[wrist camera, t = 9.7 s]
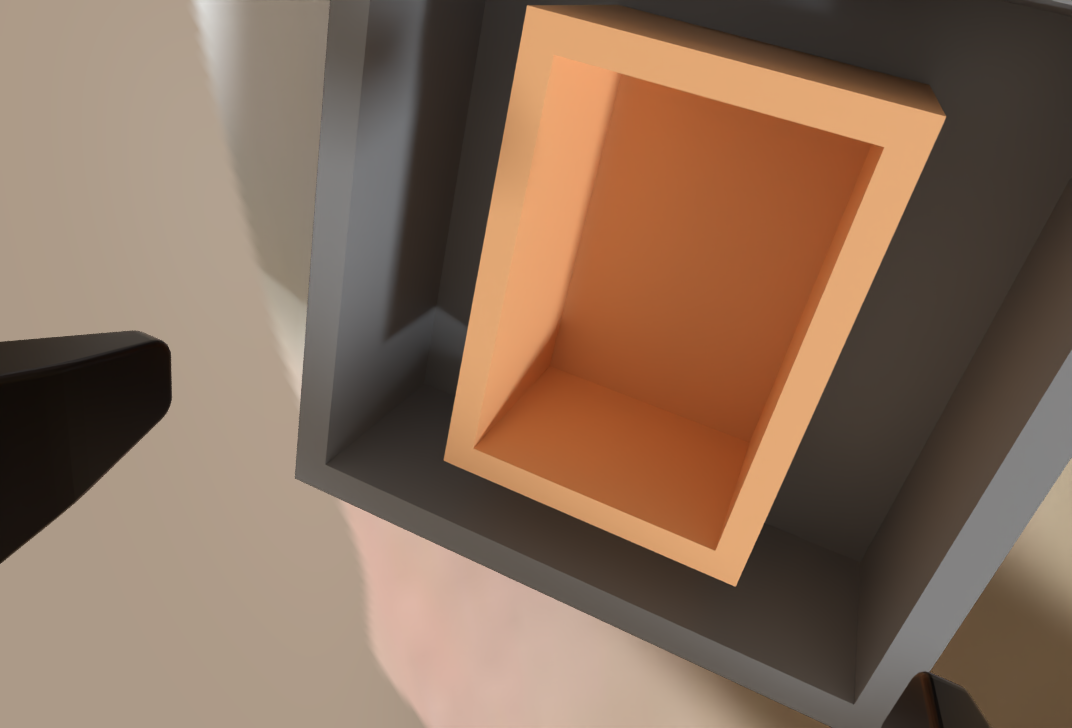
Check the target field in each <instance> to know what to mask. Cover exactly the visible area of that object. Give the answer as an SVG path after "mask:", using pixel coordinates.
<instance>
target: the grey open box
mask: <svg viewBox="0 0 1072 728" xmlns="http://www.w3.org/2000/svg"><path fill="white" fill-rule="evenodd" d="M527 5H621V6H625V7H629V8H632V9H636V10H640V11H644V12H648V13H652V14H656V15H660V16H664V17H667V18H671V19H675V20H679V21H683V22H687V23H691V24H695V25H698V26H702V27H706V28H710V29H714V30H718V31H722V32H726V33H729V34H733V35H737V36H741V37H745V38H749V39H753V40H757V41H761V42H764V43H768V44H772V45H776V46H780V47H784V48H788V49H792V50H795V51H799V52H803V53H807V54H811V55H815V56H819V57H823V58H827V59H830V60H834V61H838V62H842V63H846V64H850V65H854V66H858V67H861V68H865V69H869V70H873V71H877V72H881V73H885V74H889V75H892V76H896V77H900V78H904V79H908V80H912V81H916V82H920V83H924V84H927V85H930V87H931V89H932V90H933V92H934V94H935V96H936V98H937V100H938V102H939V104H940V106H941V107H942V109H943V111H944V113H945V115H946V119H945V121H944V123H943V125H942V128H941V130H940V132H939V134H938V137H937V139H936V141H935V143H934V145H933V148H932V150H931V152H930V154H929V157H928V159H927V161H926V163H925V166H924V168H923V170H922V172H921V174H920V177H919V179H918V181H917V183H916V186H915V188H914V190H913V192H912V195H911V197H910V199H909V201H908V203H907V206H906V208H905V210H904V212H903V215H902V217H901V219H900V221H899V224H898V226H897V228H896V230H895V232H894V235H893V237H892V239H891V241H890V244H889V246H888V248H887V250H886V253H885V255H884V257H883V259H882V261H881V264H880V266H879V268H878V270H877V273H876V275H875V277H874V279H873V282H872V284H871V286H870V288H869V290H868V293H867V295H866V297H865V299H864V302H863V304H862V306H861V308H860V311H859V313H858V315H857V317H856V319H855V322H854V324H853V326H852V328H851V331H850V333H849V335H848V337H847V339H846V342H845V344H844V346H843V348H842V351H841V353H840V355H839V357H838V360H837V362H836V364H835V366H834V368H833V371H832V373H831V375H830V377H829V380H828V382H827V384H826V386H825V389H824V391H823V393H822V395H821V397H820V400H819V402H818V404H817V406H816V409H815V411H814V413H813V415H812V418H811V420H810V422H809V424H808V426H807V429H806V431H805V433H804V435H803V438H802V440H801V442H800V444H799V447H798V449H797V451H796V453H795V455H794V458H793V460H792V462H791V464H790V467H789V469H788V471H787V473H786V476H785V478H784V480H783V482H782V484H781V487H780V489H779V491H778V493H777V496H776V498H775V500H774V502H773V505H772V507H771V509H770V511H769V513H768V516H767V518H766V520H765V522H764V525H763V527H762V529H761V531H760V534H759V536H758V538H757V540H756V542H755V545H754V547H753V549H752V551H751V554H750V556H749V558H748V560H747V562H746V565H745V567H744V569H743V571H742V574H741V576H740V578H739V580H738V583H737V585H736V587H735V586H733V585H730V584H728V583H726V582H723V581H721V580H719V579H716V578H714V577H712V576H709V575H707V574H705V573H702V572H700V571H698V570H696V569H693V568H691V567H689V566H686V565H684V564H682V563H679V562H677V561H675V560H672V559H670V558H668V557H665V556H663V555H661V554H658V553H656V552H654V551H652V550H649V549H647V548H645V547H642V546H640V545H638V544H635V543H633V542H631V541H628V540H626V539H624V538H621V537H619V536H617V535H615V534H612V533H610V532H608V531H605V530H603V529H601V528H598V527H596V526H594V525H591V524H589V523H587V522H584V521H582V520H580V519H577V518H575V517H573V516H571V515H568V514H566V513H564V512H561V511H559V510H557V509H554V508H552V507H550V506H547V505H545V504H543V503H540V502H538V501H536V500H533V499H531V498H529V497H527V496H524V495H522V494H520V493H517V492H515V491H513V490H510V489H508V488H506V487H503V486H501V485H499V484H496V483H494V482H492V481H489V480H487V479H485V478H483V477H480V476H478V475H476V474H473V473H471V472H469V471H466V470H464V469H462V468H459V467H457V466H455V465H452V464H450V463H448V462H446V461H444V455H445V450H446V445H447V439H448V434H449V428H450V423H451V417H452V412H453V406H454V401H455V396H456V390H457V385H458V379H459V374H460V368H461V363H462V357H463V352H464V347H465V341H466V336H467V330H468V325H469V319H470V314H471V308H472V303H473V297H474V292H475V287H476V281H477V276H478V270H479V265H480V259H481V254H482V248H483V243H484V238H485V232H486V227H487V221H488V216H489V210H490V205H491V199H492V194H493V189H494V183H495V178H496V172H497V167H498V161H499V156H500V150H501V145H502V139H503V134H504V129H505V123H506V118H507V112H508V107H509V101H510V96H511V90H512V85H513V80H514V74H515V69H516V63H517V58H518V52H519V47H520V41H521V36H522V31H523V25H524V20H525V14H526V9H527ZM1071 458H1072V0H330V9H329V23H328V36H327V50H326V63H325V77H324V90H323V104H322V117H321V131H320V145H319V158H318V172H317V185H316V199H315V212H314V226H313V239H312V253H311V267H310V280H309V294H308V307H307V321H306V334H305V348H304V361H303V375H302V388H301V402H300V416H299V429H298V443H297V456H296V470H295V479H298V480H300V481H302V482H304V483H306V484H309V485H310V486H313V487H315V488H317V489H319V490H322V491H324V492H326V493H328V494H330V495H332V496H334V497H336V498H339V499H341V500H343V501H345V502H347V503H349V504H351V505H354V506H356V507H358V508H360V509H362V510H364V511H367V512H369V513H371V514H373V515H375V516H377V517H379V518H382V519H384V520H386V521H388V522H390V523H392V524H395V525H397V526H399V527H401V528H403V529H405V530H407V531H410V532H412V533H414V534H416V535H418V536H420V537H423V538H425V539H427V540H429V541H431V542H433V543H435V544H438V545H440V546H442V547H444V548H446V549H448V550H451V551H453V552H455V553H457V554H459V555H461V556H464V557H466V558H468V559H470V560H472V561H474V562H476V563H479V564H481V565H483V566H485V567H487V568H489V569H492V570H494V571H496V572H498V573H500V574H502V575H504V576H507V577H509V578H511V579H513V580H515V581H517V582H520V583H522V584H524V585H526V586H528V587H530V588H532V589H535V590H537V591H539V592H541V593H543V594H545V595H548V596H550V597H552V598H554V599H556V600H558V601H560V602H563V603H565V604H567V605H569V606H571V607H573V608H576V609H578V610H580V611H582V612H584V613H586V614H588V615H591V616H593V617H595V618H597V619H599V620H601V621H604V622H606V623H608V624H610V625H612V626H614V627H617V628H619V629H621V630H623V631H625V632H627V633H629V634H632V635H634V636H636V637H638V638H640V639H642V640H645V641H647V642H649V643H651V644H653V645H655V646H657V647H660V648H662V649H664V650H666V651H668V652H670V653H673V654H675V655H677V656H679V657H681V658H683V659H685V660H688V661H690V662H692V663H694V664H696V665H698V666H701V667H703V668H705V669H707V670H709V671H711V672H713V673H716V674H718V675H720V676H722V677H724V678H726V679H729V680H731V681H733V682H735V683H737V684H739V685H742V686H744V687H746V688H748V689H750V690H752V691H754V692H757V693H759V694H761V695H763V696H765V697H767V698H770V699H772V700H774V701H776V702H778V703H780V704H782V705H785V706H787V707H789V708H791V709H793V710H795V711H798V712H800V713H802V714H804V715H806V716H808V717H810V718H813V719H815V720H817V721H819V722H821V723H823V724H826V725H828V726H830V727H832V728H881V726H882V724H883V722H884V721H885V719H886V717H887V716H888V714H889V713H890V711H891V710H892V708H893V707H894V705H895V704H896V702H897V701H898V699H899V697H900V696H901V694H902V693H903V691H904V690H905V688H906V687H907V685H908V684H909V682H910V681H911V679H912V678H913V677H914V676H915V675H916V674H917V673H919V672H924V671H927V672H930V670H931V669H932V667H933V666H934V664H935V663H936V661H937V660H938V658H939V657H940V655H941V654H942V652H943V651H944V649H945V648H946V646H947V645H948V643H949V642H950V640H951V639H952V637H953V636H954V634H955V633H956V631H957V630H958V628H959V627H960V625H961V624H962V622H963V621H964V619H965V618H966V616H967V615H968V613H969V612H970V610H971V609H972V607H973V606H974V604H975V602H976V601H977V599H978V598H979V596H980V595H981V593H982V592H983V590H984V589H985V587H986V586H987V584H988V583H989V581H990V580H991V578H992V577H993V575H994V574H995V572H996V571H997V569H998V568H999V566H1000V565H1001V563H1002V562H1003V560H1004V559H1005V557H1006V556H1007V554H1008V553H1009V551H1010V550H1011V548H1012V547H1013V545H1014V544H1015V542H1016V541H1017V539H1018V538H1019V536H1020V535H1021V533H1022V532H1023V530H1024V529H1025V527H1026V526H1027V524H1028V523H1029V521H1030V519H1031V518H1032V516H1033V515H1034V513H1035V512H1036V510H1037V509H1038V507H1039V506H1040V504H1041V503H1042V501H1043V500H1044V498H1045V497H1046V495H1047V494H1048V492H1049V491H1050V489H1051V488H1052V486H1053V485H1054V483H1055V482H1056V480H1057V479H1058V477H1059V476H1060V474H1061V473H1062V471H1063V470H1064V468H1065V467H1066V465H1067V464H1068V462H1069V461H1070V459H1071Z"/></svg>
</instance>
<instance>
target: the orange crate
mask: <svg viewBox="0 0 1072 728" xmlns="http://www.w3.org/2000/svg"><path fill="white" fill-rule="evenodd" d="M945 119H946V115H945V113H944V111H943V109H942V107H941V106H940V104H939V102H938V100H937V98H936V96H935V94H934V92H933V90H932V89H931V87H930V85H927V84H924V83H920V82H916V81H912V80H908V79H904V78H900V77H896V76H892V75H889V74H885V73H881V72H877V71H873V70H869V69H865V68H861V67H858V66H854V65H850V64H846V63H842V62H838V61H834V60H830V59H827V58H823V57H819V56H815V55H811V54H807V53H803V52H799V51H795V50H792V49H788V48H784V47H780V46H776V45H772V44H768V43H764V42H761V41H757V40H753V39H749V38H745V37H741V36H737V35H733V34H729V33H726V32H722V31H718V30H714V29H710V28H706V27H702V26H698V25H695V24H691V23H687V22H683V21H679V20H675V19H671V18H667V17H664V16H660V15H656V14H652V13H648V12H644V11H640V10H636V9H632V8H629V7H625V6H621V5H527V9H526V14H525V20H524V25H523V31H522V36H521V41H520V47H519V52H518V58H517V63H516V69H515V74H514V80H513V85H512V90H511V96H510V101H509V107H508V112H507V118H506V123H505V129H504V134H503V139H502V145H501V150H500V156H499V161H498V167H497V172H496V178H495V183H494V189H493V194H492V199H491V205H490V210H489V216H488V221H487V227H486V232H485V238H484V243H483V248H482V254H481V259H480V265H479V270H478V276H477V281H476V287H475V292H474V297H473V303H472V308H471V314H470V319H469V325H468V330H467V336H466V341H465V347H464V352H463V357H462V363H461V368H460V374H459V379H458V385H457V390H456V396H455V401H454V406H453V412H452V417H451V423H450V428H449V434H448V439H447V445H446V450H445V455H444V461H446V462H448V463H450V464H452V465H455V466H457V467H459V468H462V469H464V470H466V471H469V472H471V473H473V474H476V475H478V476H480V477H483V478H485V479H487V480H489V481H492V482H494V483H496V484H499V485H501V486H503V487H506V488H508V489H510V490H513V491H515V492H517V493H520V494H522V495H524V496H527V497H529V498H531V499H533V500H536V501H538V502H540V503H543V504H545V505H547V506H550V507H552V508H554V509H557V510H559V511H561V512H564V513H566V514H568V515H571V516H573V517H575V518H577V519H580V520H582V521H584V522H587V523H589V524H591V525H594V526H596V527H598V528H601V529H603V530H605V531H608V532H610V533H612V534H615V535H617V536H619V537H621V538H624V539H626V540H628V541H631V542H633V543H635V544H638V545H640V546H642V547H645V548H647V549H649V550H652V551H654V552H656V553H658V554H661V555H663V556H665V557H668V558H670V559H672V560H675V561H677V562H679V563H682V564H684V565H686V566H689V567H691V568H693V569H696V570H698V571H700V572H702V573H705V574H707V575H709V576H712V577H714V578H716V579H719V580H721V581H723V582H726V583H728V584H730V585H733V586H735V587H736V585H737V583H738V580H739V578H740V576H741V574H742V571H743V569H744V567H745V565H746V562H747V560H748V558H749V556H750V554H751V551H752V549H753V547H754V545H755V542H756V540H757V538H758V536H759V534H760V531H761V529H762V527H763V525H764V522H765V520H766V518H767V516H768V513H769V511H770V509H771V507H772V505H773V502H774V500H775V498H776V496H777V493H778V491H779V489H780V487H781V484H782V482H783V480H784V478H785V476H786V473H787V471H788V469H789V467H790V464H791V462H792V460H793V458H794V455H795V453H796V451H797V449H798V447H799V444H800V442H801V440H802V438H803V435H804V433H805V431H806V429H807V426H808V424H809V422H810V420H811V418H812V415H813V413H814V411H815V409H816V406H817V404H818V402H819V400H820V397H821V395H822V393H823V391H824V389H825V386H826V384H827V382H828V380H829V377H830V375H831V373H832V371H833V368H834V366H835V364H836V362H837V360H838V357H839V355H840V353H841V351H842V348H843V346H844V344H845V342H846V339H847V337H848V335H849V333H850V331H851V328H852V326H853V324H854V322H855V319H856V317H857V315H858V313H859V311H860V308H861V306H862V304H863V302H864V299H865V297H866V295H867V293H868V290H869V288H870V286H871V284H872V282H873V279H874V277H875V275H876V273H877V270H878V268H879V266H880V264H881V261H882V259H883V257H884V255H885V253H886V250H887V248H888V246H889V244H890V241H891V239H892V237H893V235H894V232H895V230H896V228H897V226H898V224H899V221H900V219H901V217H902V215H903V212H904V210H905V208H906V206H907V203H908V201H909V199H910V197H911V195H912V192H913V190H914V188H915V186H916V183H917V181H918V179H919V177H920V174H921V172H922V170H923V168H924V166H925V163H926V161H927V159H928V157H929V154H930V152H931V150H932V148H933V145H934V143H935V141H936V139H937V137H938V134H939V132H940V130H941V128H942V125H943V123H944V121H945Z"/></svg>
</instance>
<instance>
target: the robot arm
mask: <svg viewBox="0 0 1072 728" xmlns="http://www.w3.org/2000/svg"><path fill="white" fill-rule="evenodd" d="M171 385H172V381H171V352H170V350H169V347H168V345H167V344H166V343H165V342H163V341H162V340H160V339H157V338H155V337H153V336H150V335H148V334H146V333H143V332H140V331H123V332H112V333H111V332H110V333H99V334H87V335H75V336H64V337H52V338H40V339H29V340H17V341H5V342H0V564H1V563H2V562H3V561H4V560H6V559H7V558H8V557H9V556H11V555H12V554H13V553H14V552H15V551H17V550H18V549H19V548H21V546H23V545H24V544H25V543H27V542H28V541H29V540H30V539H32V538H33V537H34V536H35V535H36V534H38V533H39V532H40V531H42V530H43V529H44V528H45V527H47V526H48V525H49V524H50V523H51V522H52V521H54V520H55V519H56V518H58V517H59V516H60V515H61V514H62V513H64V512H65V511H66V510H67V509H68V508H70V507H71V506H72V505H73V504H74V503H75V502H76V501H78V500H79V499H80V498H81V497H82V496H83V495H84V494H85V493H86V492H87V491H88V490H89V489H90V488H91V487H93V485H95V484H96V483H97V482H98V481H99V480H100V479H101V478H102V477H103V476H104V475H105V474H106V473H107V472H108V471H109V470H110V469H111V468H112V467H113V466H114V465H115V464H116V463H117V462H118V461H119V460H120V459H121V458H122V457H123V456H124V455H125V454H126V453H127V452H128V451H130V449H132V447H134V446H135V445H136V444H137V443H138V442H139V441H140V440H141V439H142V438H143V437H144V436H145V435H146V434H147V433H148V432H149V431H150V430H151V429H152V428H153V427H154V426H155V425H156V424H157V423H158V422H159V421H160V420H161V419H162V418H163V417H164V416H165V414H166V413H167V411H168V409H169V407H170V404H171V400H172V386H171ZM881 728H992V727H991V726H990V724H989V723H988V721H987V720H986V718H985V717H984V715H983V713H982V712H981V710H980V709H979V707H978V706H977V704H976V703H975V701H974V699H973V698H972V696H971V695H970V694H969V693H968V691H967V690H966V689H965V688H963V687H962V686H960V685H958V684H955V683H953V682H951V681H948V680H946V679H944V678H941V677H939V676H937V675H934V674H932V673H930V672H927V671H924V672H919V673H917V674H916V675H915V676H914V677H913V678H912V679H911V681H910V682H909V684H908V685H907V687H906V688H905V690H904V691H903V693H902V694H901V696H900V697H899V699H898V701H897V702H896V704H895V705H894V707H893V708H892V710H891V711H890V713H889V714H888V716H887V717H886V719H885V721H884V722H883V724H882V726H881Z"/></svg>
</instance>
